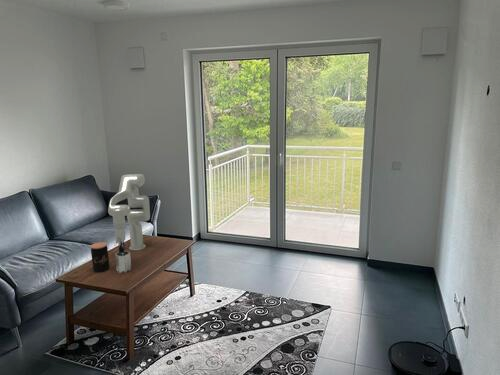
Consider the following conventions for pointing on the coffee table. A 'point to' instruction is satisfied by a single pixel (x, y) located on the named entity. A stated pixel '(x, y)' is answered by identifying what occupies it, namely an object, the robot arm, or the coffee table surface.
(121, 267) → the press carafe
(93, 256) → the coffee jar
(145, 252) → the coffee table surface
